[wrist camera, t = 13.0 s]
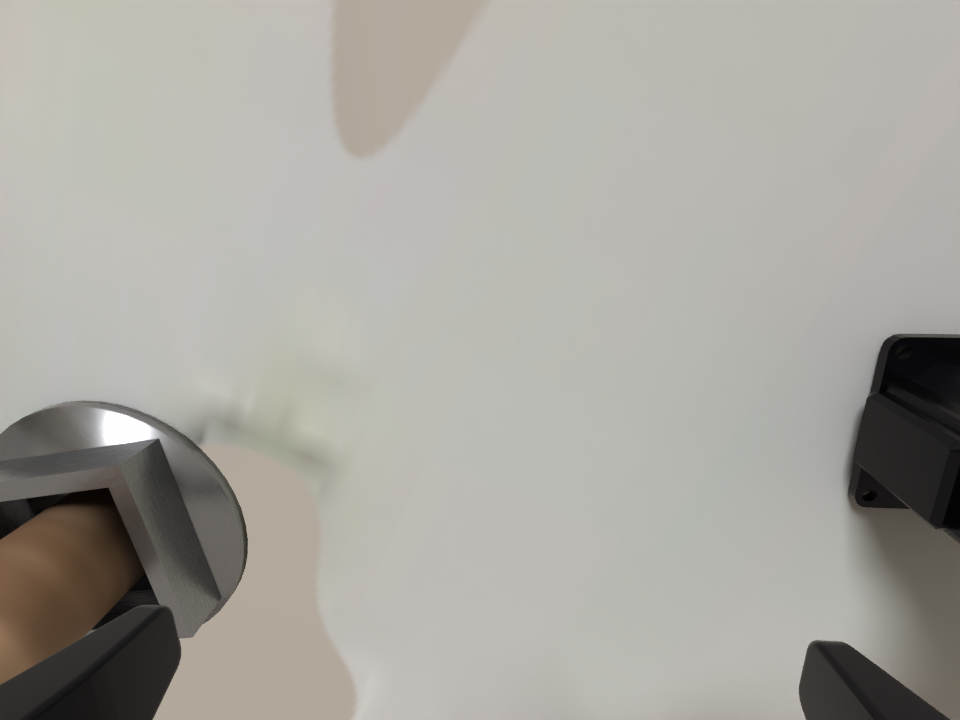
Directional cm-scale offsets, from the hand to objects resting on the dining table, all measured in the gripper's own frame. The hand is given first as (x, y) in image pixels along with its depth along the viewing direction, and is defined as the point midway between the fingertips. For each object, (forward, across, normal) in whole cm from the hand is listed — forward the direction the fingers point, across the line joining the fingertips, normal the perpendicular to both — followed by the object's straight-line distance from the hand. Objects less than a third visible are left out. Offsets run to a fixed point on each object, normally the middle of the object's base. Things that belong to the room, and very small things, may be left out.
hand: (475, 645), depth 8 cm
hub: (+13, +17, +8) cm, 23 cm away
